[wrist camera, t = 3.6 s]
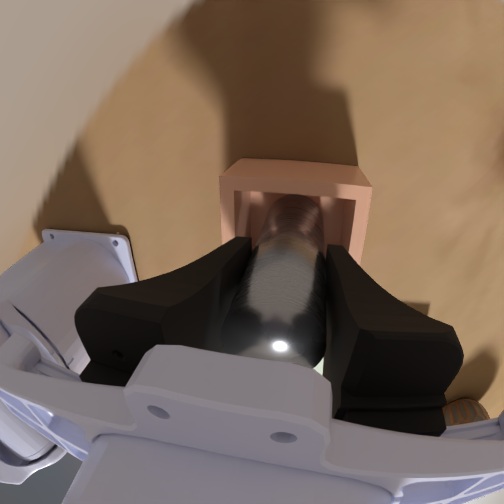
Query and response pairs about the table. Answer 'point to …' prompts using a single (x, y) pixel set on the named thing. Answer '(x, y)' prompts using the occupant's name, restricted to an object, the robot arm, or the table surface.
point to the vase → (464, 412)
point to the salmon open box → (302, 183)
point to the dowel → (282, 289)
